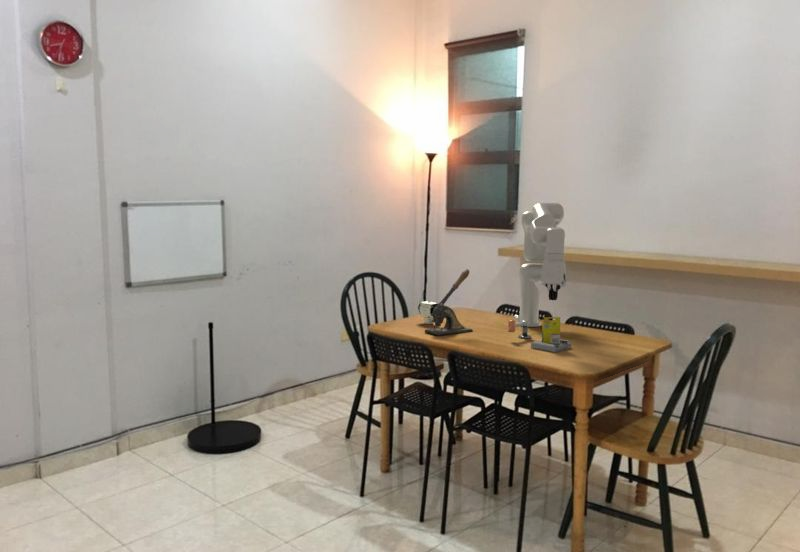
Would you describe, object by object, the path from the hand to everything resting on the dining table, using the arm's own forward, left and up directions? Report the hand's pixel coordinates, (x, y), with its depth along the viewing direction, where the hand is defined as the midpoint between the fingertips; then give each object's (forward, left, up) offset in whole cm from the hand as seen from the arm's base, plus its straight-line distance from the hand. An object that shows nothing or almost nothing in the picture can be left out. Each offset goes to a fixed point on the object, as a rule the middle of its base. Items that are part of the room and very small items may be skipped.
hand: (552, 299), depth 281 cm
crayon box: (0, 0, -19) cm, 19 cm away
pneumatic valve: (-73, +2, -21) cm, 76 cm away
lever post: (-20, +10, -21) cm, 31 cm away
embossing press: (-52, -6, -22) cm, 57 cm away
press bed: (0, 0, -21) cm, 21 cm away
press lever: (-20, +5, -17) cm, 27 cm away
